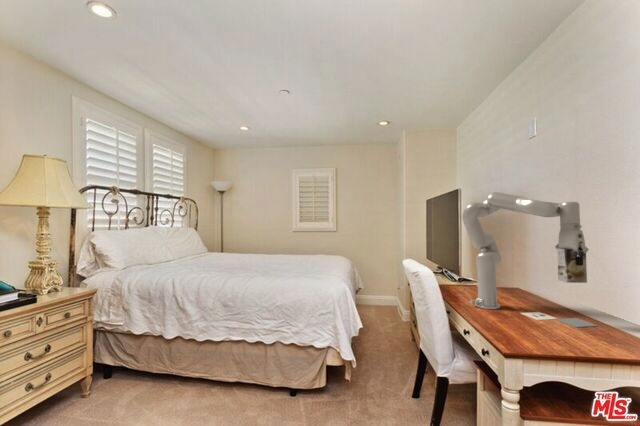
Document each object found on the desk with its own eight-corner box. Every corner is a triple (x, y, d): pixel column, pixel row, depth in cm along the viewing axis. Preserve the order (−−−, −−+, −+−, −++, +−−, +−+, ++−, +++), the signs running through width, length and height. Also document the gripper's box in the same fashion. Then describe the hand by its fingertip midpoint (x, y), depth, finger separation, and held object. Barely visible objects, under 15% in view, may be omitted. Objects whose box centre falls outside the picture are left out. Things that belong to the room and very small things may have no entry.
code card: (537, 320, 152) (537, 319, 152) (520, 313, 163) (520, 312, 163) (557, 319, 153) (557, 318, 153) (539, 312, 164) (539, 311, 164)
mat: (576, 327, 141) (576, 326, 141) (555, 319, 152) (555, 319, 152) (597, 326, 142) (597, 325, 142) (575, 318, 153) (575, 317, 153)
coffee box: (566, 282, 145) (565, 248, 146) (557, 280, 152) (556, 247, 152) (587, 282, 145) (586, 248, 145) (577, 280, 151) (576, 247, 151)
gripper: (595, 227, 141) (596, 266, 140) (561, 226, 158) (562, 261, 157) (580, 227, 140) (582, 267, 139) (547, 227, 157) (549, 262, 157)
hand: (571, 263), depth 148 cm, fingers closed on coffee box, 7 cm apart
